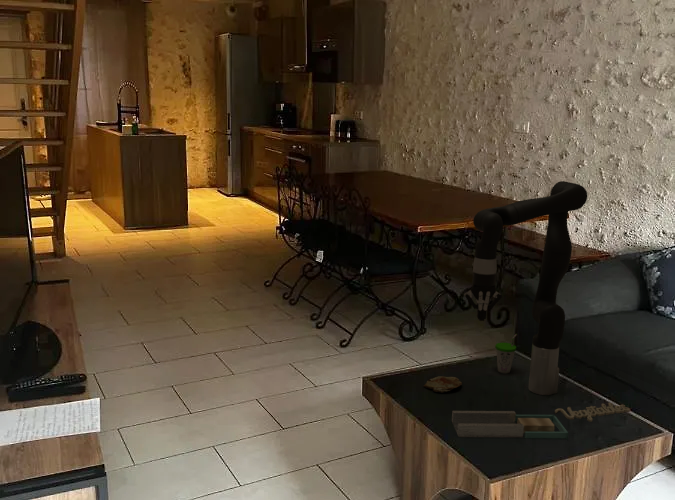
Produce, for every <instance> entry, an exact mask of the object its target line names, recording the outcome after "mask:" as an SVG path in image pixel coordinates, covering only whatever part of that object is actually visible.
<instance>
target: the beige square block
mask: <svg viewBox="0 0 675 500" xmlns="http://www.w3.org/2000/svg"><path fill="white" fill-rule="evenodd" d="M516 424H523V425H524V431H523V434H525V432H538V424H537V423H536V421H535V420H534V418H518V420H517V421H516Z"/></svg>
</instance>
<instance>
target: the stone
mask: <svg viewBox="0 0 675 500" xmlns="http://www.w3.org/2000/svg"><path fill="white" fill-rule="evenodd" d="M462 384H463V382H462V381H460V379H459V378H458V377H456V376H441V375H439V376H436V377H433V378H430V379H428V380H426V382H425V383H424V385H423V387H424V388H426V389H430V390H431V389H432V391H433V392H435V393H441V394H442V393H447V392H448V393H449V392H451V391H452V390H454V389H457V388H459V387H461V386H462Z"/></svg>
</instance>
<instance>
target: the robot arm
mask: <svg viewBox="0 0 675 500" xmlns="http://www.w3.org/2000/svg"><path fill="white" fill-rule="evenodd" d="M587 200H588V191H587V190H586V188H585V187H584V186H583V185H581V184H579V183H575V182H570V181H565V180H560V181H558V182H556V183H555V184H554V185H552V188H551V190H550V194H549V195H547V196H542V197H537V198H535V197H534V198H527V199H523V200H518V201H515V202H512V203H508V204H507V205H503V206H496V207H489V208H485V209H482V210H480V211H478V212H477V213H476V214H475V215H474V217H473V219H472V223H473V226H474V227H475V228H476V229H477V231H479V232H480V231H481V232H482V236H481V238H480V239H478V240H477V241H476V242H475V248H474V249H475V250H474V259H473V267H472V269H473V270H472V281H471V286H470V290H468V291H467V292H464V293H463V295H464V297H465V298H466V301H468V302H469V304H470V305H471V306H472V308H473V309H474V310H475V309H476V319H477V320H478V321H480V322H482V321H485V320H486V318H487V312H488V310H489V309H493V308H494V307H495V306H496V304H497V303H498V302H499V301H500V300H501V299H502V298H503V295H502V294H501V293H500V292H498V291H497V288H496V281H497V280H496V277H497V265H498V264H497V263H498V262H497V254H498V253H497V252H498V244H499V242H500V240H501V237H502V232H503V229H504V226H507V227H508V226H510V227H511V226H516V225H518V224H521V223H523V222H528V221H530V220H533V219H536V218H541V217H545V216H548V220H547V228H546V234H545V241H544V242H545V243H544V247H543V253H542V258H541V267H540V271H539V277H538V279H539V280H538V285H537V288H536V293H535V297H534V300H533V303H532V307H531V315H532V317H533V319H534V321H535V322H536V323H538V332H537V334H534V335H533V337H532V342H531V343H532V345H531V353H530V354H531V356H530V365H529V367H530V368H529V377H528V391H530V392H532V393H534V394H537V395H540V396H551V395H553V394H558V387H559V386H558V384H559V376H560V367H559V366H558V364H559V353H560V343H561V342H562V340H563V336H564V329H565V324H566V313H565V310H564V309H563V307H562V306H560V305H559V304H557V296H558V295H557V294H558V289H559V285H560V283H561V282H562V280H563V278H564V277H565V275H566V273H568V270H569V268H570V263H571V258H572V250H573V245H572V240H571V236H570V233H569V232H570V231H569V228H568V216H569V212H571V211H577V210H580V209H581V208H583V207H584V205H585V204H586V203H587ZM473 297H474V298H475V299H476V303H475V301H474V300H473Z"/></svg>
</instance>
